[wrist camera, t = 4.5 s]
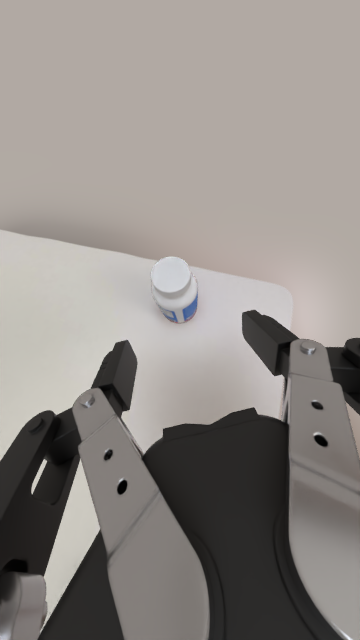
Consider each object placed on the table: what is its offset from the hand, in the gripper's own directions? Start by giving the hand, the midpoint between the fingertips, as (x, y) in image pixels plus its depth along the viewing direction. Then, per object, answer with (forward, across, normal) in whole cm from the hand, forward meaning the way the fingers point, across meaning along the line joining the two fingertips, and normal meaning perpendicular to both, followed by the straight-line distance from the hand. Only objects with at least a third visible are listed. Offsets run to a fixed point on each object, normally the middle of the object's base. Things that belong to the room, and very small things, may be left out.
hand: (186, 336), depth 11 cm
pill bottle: (+14, 0, +4) cm, 14 cm away
